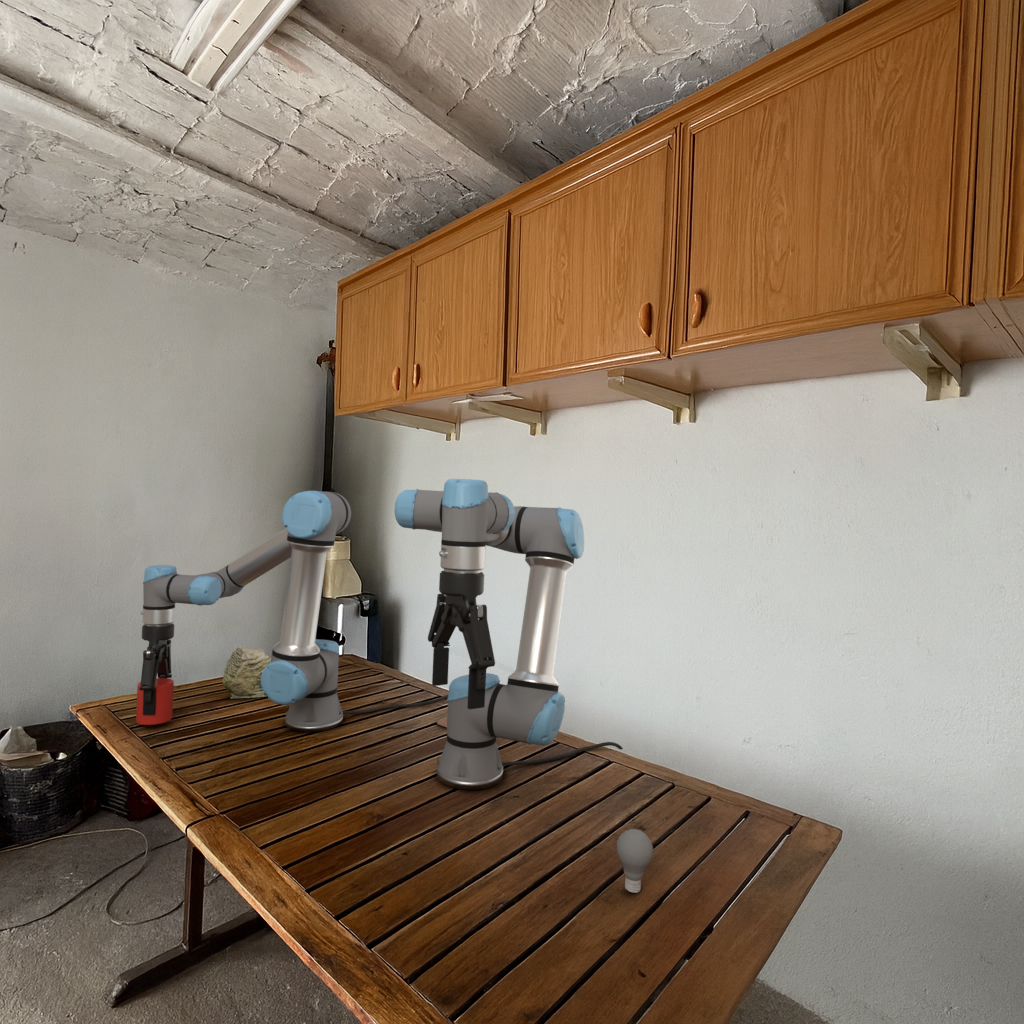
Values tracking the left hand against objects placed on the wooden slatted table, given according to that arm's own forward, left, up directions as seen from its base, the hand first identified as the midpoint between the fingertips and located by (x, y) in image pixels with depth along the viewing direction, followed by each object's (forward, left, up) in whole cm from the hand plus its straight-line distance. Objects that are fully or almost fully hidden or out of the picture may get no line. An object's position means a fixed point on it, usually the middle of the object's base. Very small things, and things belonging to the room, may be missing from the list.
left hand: (155, 708), depth 169 cm
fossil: (-32, -7, -5) cm, 33 cm away
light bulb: (-23, +130, -5) cm, 132 cm away
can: (0, 0, -3) cm, 3 cm away
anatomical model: (-60, +55, -5) cm, 82 cm away
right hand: (-5, +104, +26) cm, 107 cm away
